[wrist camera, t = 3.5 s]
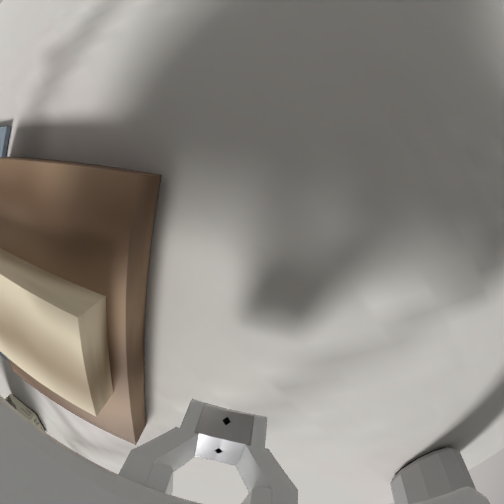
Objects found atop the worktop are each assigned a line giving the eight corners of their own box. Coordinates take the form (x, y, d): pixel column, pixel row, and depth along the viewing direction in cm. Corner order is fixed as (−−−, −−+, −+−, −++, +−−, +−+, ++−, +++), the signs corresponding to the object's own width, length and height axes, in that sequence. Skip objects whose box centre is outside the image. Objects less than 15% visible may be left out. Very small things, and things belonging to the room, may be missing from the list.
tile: (-3, 245, 10) (-27, 254, 8) (105, 296, 10) (77, 317, 8) (10, 331, 12) (-8, 344, 10) (113, 392, 11) (96, 416, 10)
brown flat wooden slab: (9, 156, 11) (-14, 157, 9) (161, 175, 10) (138, 175, 8) (26, 359, 15) (12, 370, 13) (146, 424, 15) (135, 444, 13)
